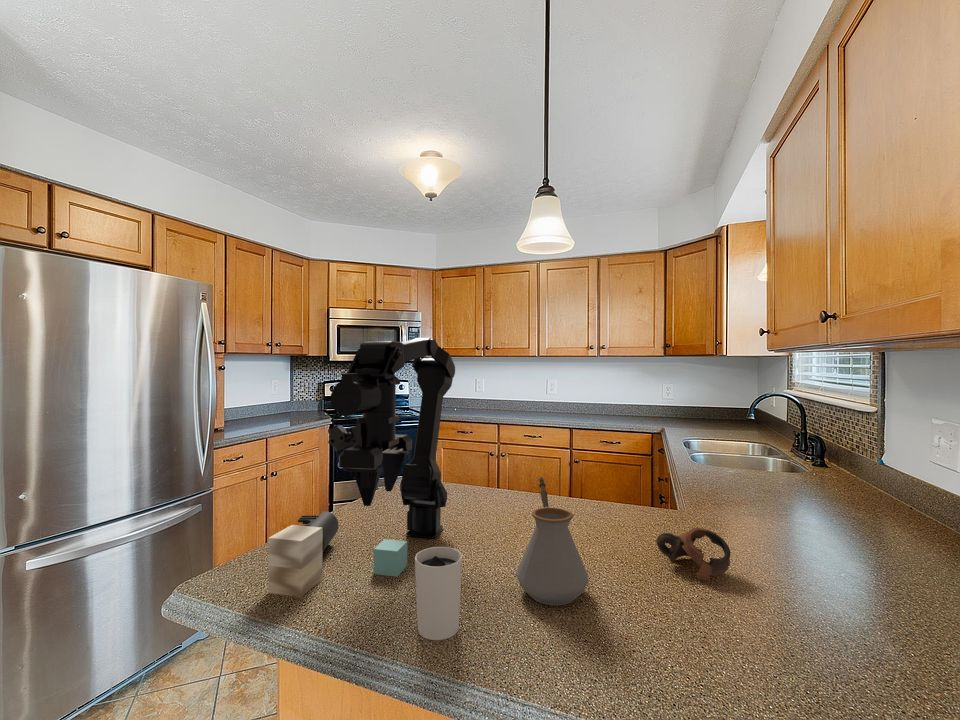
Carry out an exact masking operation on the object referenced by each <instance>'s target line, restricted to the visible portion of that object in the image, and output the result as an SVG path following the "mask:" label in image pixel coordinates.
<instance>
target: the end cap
mask: <svg viewBox="0 0 960 720" xmlns="http://www.w3.org/2000/svg"><path fill="white" fill-rule="evenodd" d="M297 522H298V523H302V524H300V526H311V527H322V528H323V542H322V553H323V552H324V551H325V549H326V548H327V546H329V544H330V542H332V540H333V538H334V537H335V536H336V534H337V533H338V530H339V521H338V519H337V517H336V516H335V515H334V514H333V513H332V512H330V511H326V510H323V511H322V512H321V513H320V514H319V515H302V516H300V517H299V518H298V519H297Z"/></svg>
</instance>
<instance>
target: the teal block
mask: <svg viewBox="0 0 960 720" xmlns="http://www.w3.org/2000/svg"><path fill="white" fill-rule="evenodd" d="M407 566H408V540H407V541H406V540H398V539H387V538H384V539H383V540H382V541H381V542H380V543H379V544H377V545H376V546H375V547H374V548H373V575H377V576H378V575H379V576H387V577H388V576H389V577H396V578H397V577H398V576H400V574H401V573H402V572H403V571H404V570H405V569H406V567H407Z"/></svg>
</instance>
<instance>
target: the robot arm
mask: <svg viewBox="0 0 960 720" xmlns="http://www.w3.org/2000/svg"><path fill="white" fill-rule="evenodd" d="M411 361H412V368H413V370H414V372H415V373H416V376H417V377H416V381H417V385H418V387H419V389H420V390H421V400H420V401H421V402H420V409H419V414H418V415H419V416H418V423H417V431H416V439H415V444H414V445H415V446H414V452H413V457H412V458H411V460H410V461H409V463H405V462H406V460H407V457H408V456H409V454H410V450H413V439H412V438H411V437H410V435H408V434H397V433H396V422H400V415H399V414H397V415H396V385H397V386H398V385H400V384H401V380H400V379H399V378H398V377H397V376H396V375H395V374H396V373H397V372H398V371H400V370H401V369H403V368H404V367H405V363H406V362H407V363H408V362H411ZM455 375H456V366H455V363H454V361H453V359H452V356H451V354H450V353H449V352H447V351H446V350H445V349H444V348H442V347H441V346H439V344H438V343H437V340H436V339H435V338H432V337H415V338H414V339H410V340H405V341H397V340H380V341H379V340H378V341H376V340H375V341H373V340H372V341H368V340H367V341H363V342H361V343H360V344H359V348H358V349H357V350H356V353H355V355H354V358H353V359H352V361H351V365H349V369H348V371H347V373H346V372H345V373H343V372H342V374H341V381H339V382H338V383H336V384H335V386H334V387H333V389H332V391H331V394H330V404H331V407H332V409H333V410H334V411H335V412H336V413H337V414H338V415H340V416H342V417H349V416H356V415H362V416H358V418H357V419H356V425H355V426H352V427H350V428H345V427H344V426H343V425H337V426H335V427H332V428H329V435H328V441H327V443H328V445H331V446H332V447H333V448H334V450H335V452H336V453H337V452H338V451H339V452H340V451H341V450H342V451H341V452H340V453H339V454H338V467H339V468H342V469H343V471H344V472H348V473H349V474H351V476H352V477H353V478H354V480H355V483H356V485H357V488H358V491H359V494H360V498H361V501H362V503H363V506H365V507H371V506H372V503H373V499H374V497H375V494H376V490H377V487H378V484H379V481H380V478H381V474H382V472H383V482H384V483H383V484H384V489H385V492H392V491H393V488H394V487H395V484H396V482H397V479H398V477H399V475H400V472H401V470H402V476H401V481H400V485H399V491H400V495H401V496H400V497H401V501H402V505H403V506H409V507H408V511H407V512H406V530H407V532H406V533H405V535H406V537H411V538H412V537H413V538H415V537H416V538H426V539H435V538H436V537H437V536H438V535H439V534H440V532H441V531H442V530H443V529H444V525H442V523H441V513H442V512H441V508H444V507H445V508H446V505H447V501H448V491H447V489H446V488H445V486H444V484H443V482H442V472H441V470H440V468H439V465H438V463H437V450H438V442H439V432H440V428H441V427H440V425H441V417H442V410H443V401H444V397H445V395H446V394H447V393H448V391H449V390H450V389H451V388H452V385H453V379H454V377H455ZM403 450H404V451H403ZM404 463H405V464H404Z"/></svg>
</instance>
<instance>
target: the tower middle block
mask: <svg viewBox="0 0 960 720" xmlns="http://www.w3.org/2000/svg"><path fill="white" fill-rule="evenodd" d="M300 525H301V524H300ZM300 525H299V524H298V525H297V524H291V525H288V526H287V527H286V528H284V529H281V530H280V531H278V532H276V533H274V534H273V535H271V536H270V537H268V549H267V550H268V552H267V553H268V555H267V556H268V560H267V561H268V566H276V567H285V568H294V569H302V568H304V567H305V566H306V565H308V564H309V563H310V562H312V561H313V560H315V559H316V558H317V557H319V556H320V555H321V554H322V555H323V552H322V542H323V528H322V527H311V526H300Z"/></svg>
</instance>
